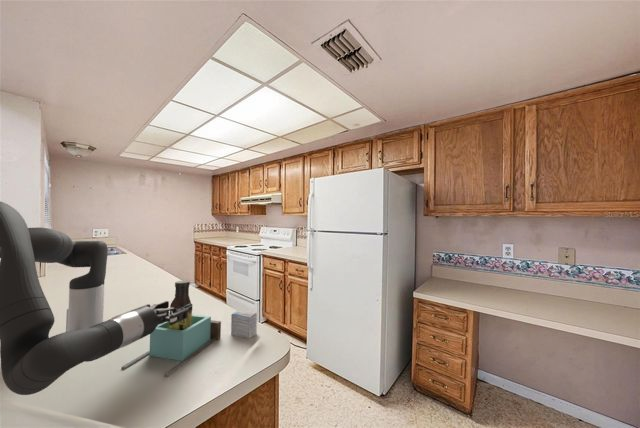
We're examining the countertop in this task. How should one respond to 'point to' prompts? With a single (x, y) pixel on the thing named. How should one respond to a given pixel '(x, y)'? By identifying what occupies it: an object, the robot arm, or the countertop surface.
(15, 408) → the countertop surface
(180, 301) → the sauce bottle
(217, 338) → the track board
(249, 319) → the medicine box
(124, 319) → the robot arm
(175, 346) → the holder
